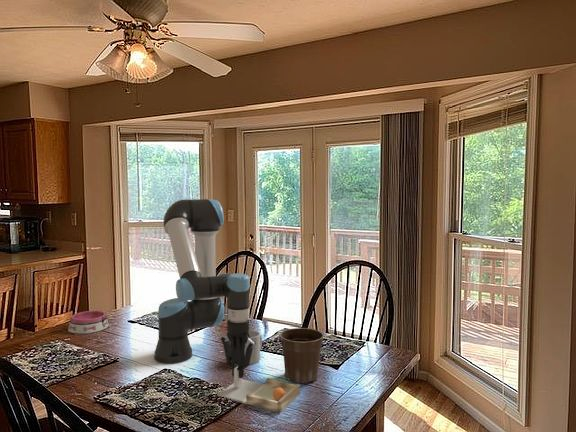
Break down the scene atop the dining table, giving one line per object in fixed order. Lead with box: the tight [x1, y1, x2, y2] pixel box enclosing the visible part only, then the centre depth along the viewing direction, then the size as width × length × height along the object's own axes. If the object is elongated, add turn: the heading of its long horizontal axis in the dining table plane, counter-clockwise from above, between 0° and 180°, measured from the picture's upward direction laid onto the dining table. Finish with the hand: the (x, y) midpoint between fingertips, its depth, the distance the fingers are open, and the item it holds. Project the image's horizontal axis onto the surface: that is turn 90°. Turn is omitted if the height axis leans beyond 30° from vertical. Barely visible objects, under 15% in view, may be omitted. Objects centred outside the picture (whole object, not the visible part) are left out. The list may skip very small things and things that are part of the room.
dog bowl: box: [67, 310, 110, 335], centre depth 220 cm, size 18×19×7 cm
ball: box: [273, 387, 285, 400], centre depth 146 cm, size 4×4×4 cm
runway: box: [216, 378, 301, 414], centre depth 151 cm, size 24×14×1 cm, turn 63°
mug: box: [245, 330, 263, 365], centre depth 182 cm, size 12×8×11 cm
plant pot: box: [279, 327, 325, 384], centre depth 165 cm, size 16×16×16 cm
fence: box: [246, 378, 301, 413], centre depth 148 cm, size 12×14×4 cm
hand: (237, 385), depth 155 cm, fingers closed
